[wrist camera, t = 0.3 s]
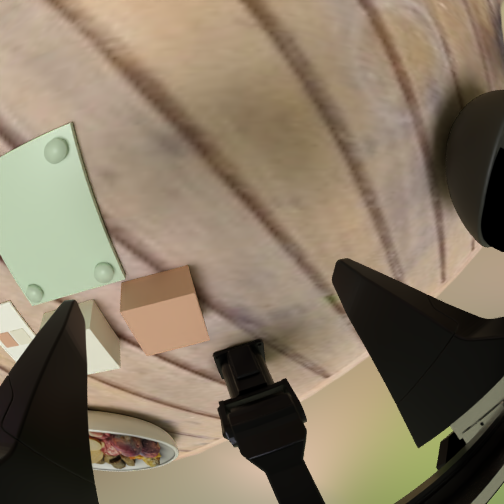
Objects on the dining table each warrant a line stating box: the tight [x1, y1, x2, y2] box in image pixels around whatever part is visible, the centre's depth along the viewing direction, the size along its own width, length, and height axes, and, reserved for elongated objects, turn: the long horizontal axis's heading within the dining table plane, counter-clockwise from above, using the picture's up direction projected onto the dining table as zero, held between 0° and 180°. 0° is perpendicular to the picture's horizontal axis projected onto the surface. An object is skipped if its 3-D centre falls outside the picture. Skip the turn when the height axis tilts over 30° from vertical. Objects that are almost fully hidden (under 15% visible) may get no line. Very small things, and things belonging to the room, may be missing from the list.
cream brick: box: [39, 300, 121, 375], centre depth 23 cm, size 6×6×4 cm
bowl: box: [88, 410, 179, 471], centre depth 37 cm, size 30×30×8 cm
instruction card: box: [0, 301, 36, 362], centre depth 22 cm, size 10×7×1 cm
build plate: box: [0, 122, 126, 306], centre depth 18 cm, size 14×11×1 cm
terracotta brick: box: [120, 265, 210, 356], centre depth 25 cm, size 6×6×4 cm
